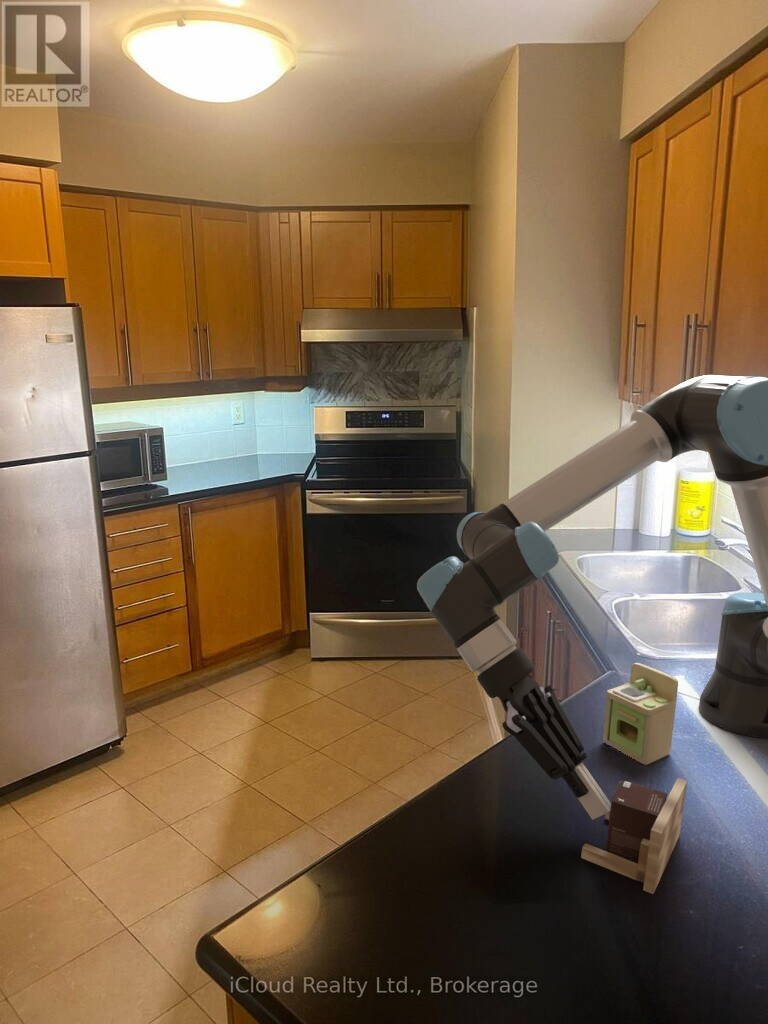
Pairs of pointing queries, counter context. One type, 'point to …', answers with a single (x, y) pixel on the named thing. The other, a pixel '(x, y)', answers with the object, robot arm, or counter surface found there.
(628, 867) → the rack
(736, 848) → the counter surface
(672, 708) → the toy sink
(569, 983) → the counter surface
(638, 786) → the box
